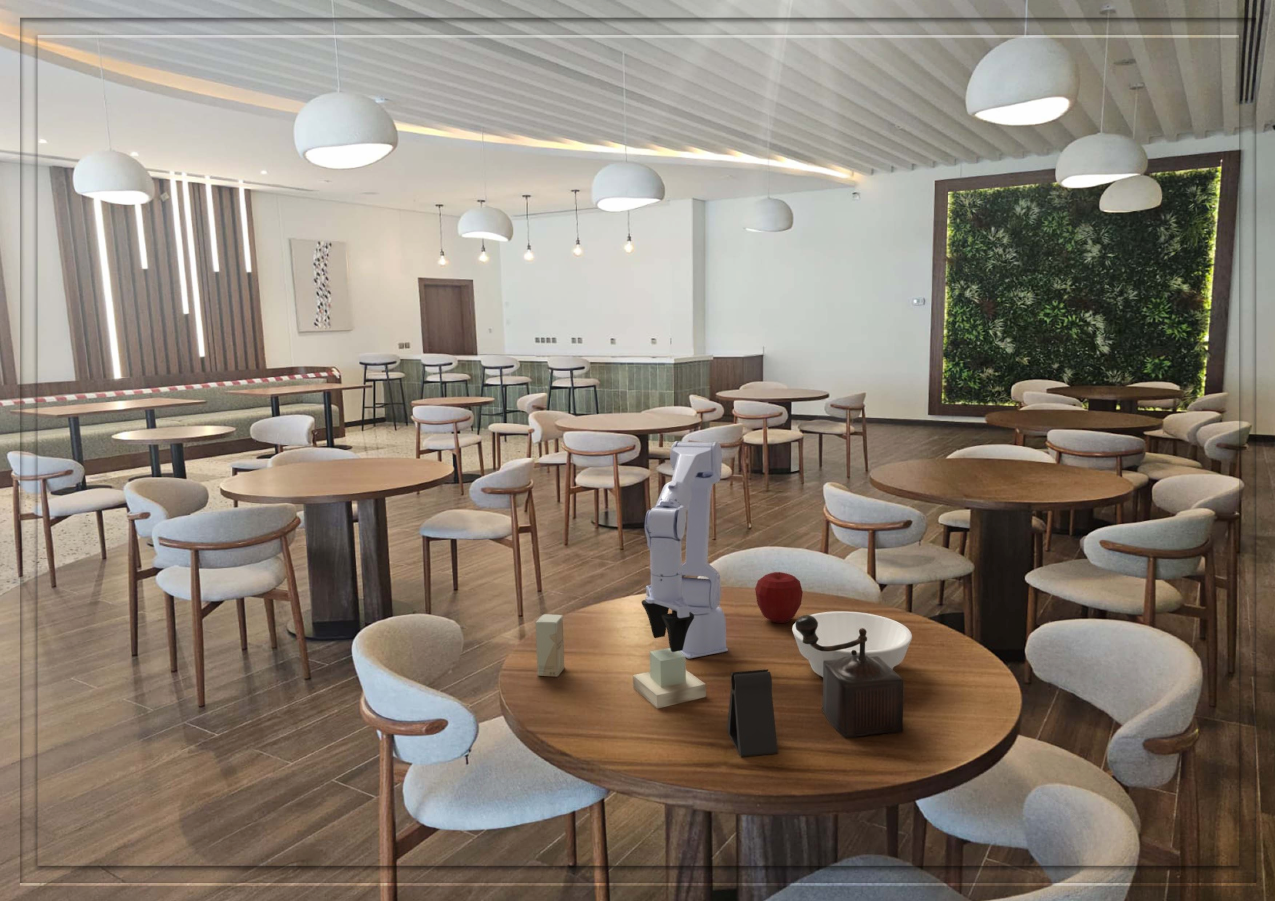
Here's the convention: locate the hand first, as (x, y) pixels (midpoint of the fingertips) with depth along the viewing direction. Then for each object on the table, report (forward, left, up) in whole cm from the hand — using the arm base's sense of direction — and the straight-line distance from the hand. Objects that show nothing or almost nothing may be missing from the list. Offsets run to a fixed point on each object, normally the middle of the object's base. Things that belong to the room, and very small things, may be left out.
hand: (667, 643), depth 149 cm
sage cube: (0, 0, -7) cm, 7 cm away
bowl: (-36, +7, -10) cm, 38 cm away
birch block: (0, 0, -10) cm, 10 cm away
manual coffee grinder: (-22, +24, -10) cm, 34 cm away
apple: (-39, -23, -10) cm, 46 cm away
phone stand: (-4, +23, -10) cm, 25 cm away
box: (+17, -19, -10) cm, 27 cm away
